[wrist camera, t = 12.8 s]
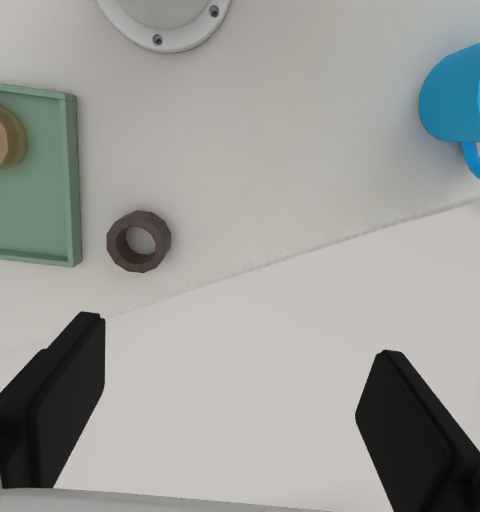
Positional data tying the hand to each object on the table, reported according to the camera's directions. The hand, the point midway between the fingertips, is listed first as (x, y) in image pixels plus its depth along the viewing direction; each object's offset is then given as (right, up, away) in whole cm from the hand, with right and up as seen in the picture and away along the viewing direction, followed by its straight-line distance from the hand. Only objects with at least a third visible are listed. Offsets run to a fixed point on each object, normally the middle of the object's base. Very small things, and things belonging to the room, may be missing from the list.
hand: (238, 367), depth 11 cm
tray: (-24, +12, +23) cm, 35 cm away
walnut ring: (-11, +6, +25) cm, 28 cm away
